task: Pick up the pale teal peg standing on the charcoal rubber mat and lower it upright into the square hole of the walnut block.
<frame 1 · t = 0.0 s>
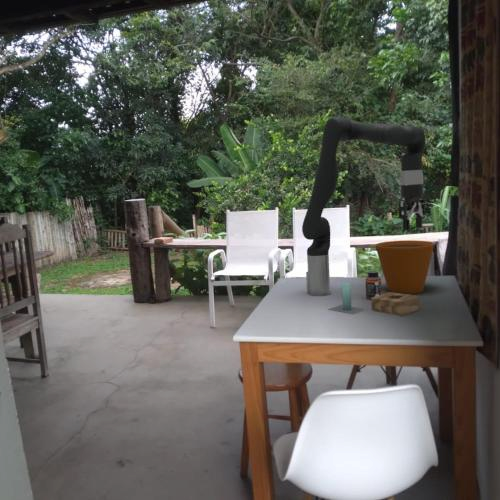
hand: (412, 228, 174), 29 cm above the table, fingers open, 8 cm apart
supplement bottle: (373, 299, 195), on the table
peg: (347, 309, 181), resting on mat
mat: (347, 310, 181), on the table
flower pot: (405, 290, 209), on the table
hole block: (395, 310, 177), on the table
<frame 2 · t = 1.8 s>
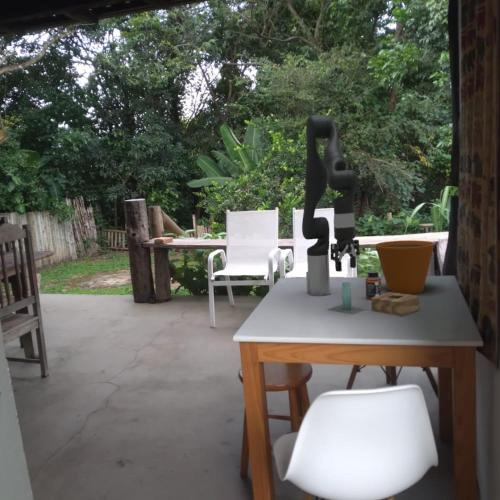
hand: (346, 269, 179), 15 cm above the table, fingers open, 8 cm apart
nothing on the table moved.
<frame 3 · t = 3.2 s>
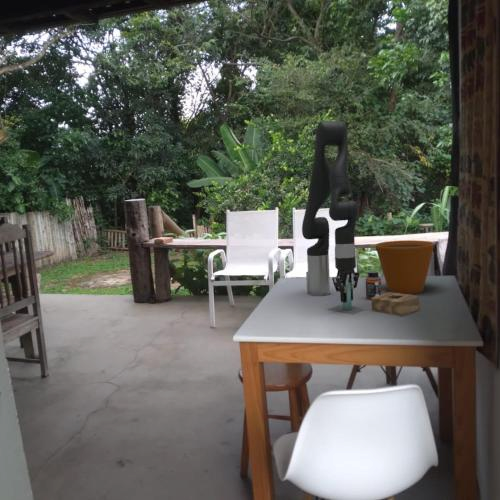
hand: (346, 301, 180), 4 cm above the table, fingers closed on peg, 3 cm apart
peg: (347, 309, 181), resting on mat, touching gripper
everything else where it was.
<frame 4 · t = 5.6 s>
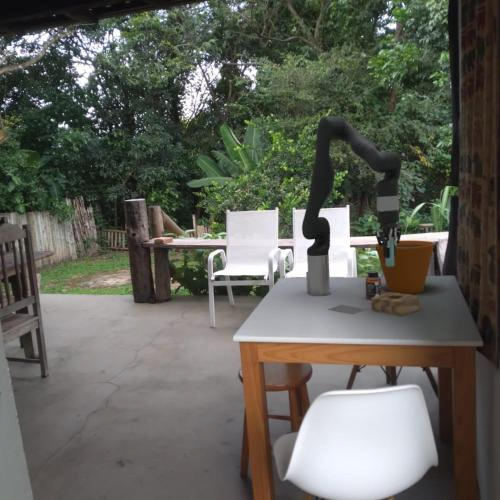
hand: (389, 257, 174), 20 cm above the table, fingers closed on peg, 3 cm apart
peg: (390, 265, 174), point 17 cm above the table, touching gripper
everything else where it was.
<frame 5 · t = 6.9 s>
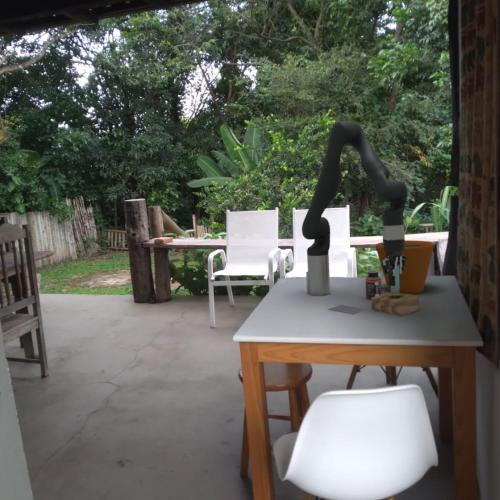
hand: (394, 284, 176), 10 cm above the table, fingers closed on peg, 3 cm apart
peg: (395, 293, 176), point 6 cm above the table, touching gripper
everything else where it was.
when the fingers open (6 cm above the table, at t = 8.0 s): peg drops 3 cm, resting in hole block.
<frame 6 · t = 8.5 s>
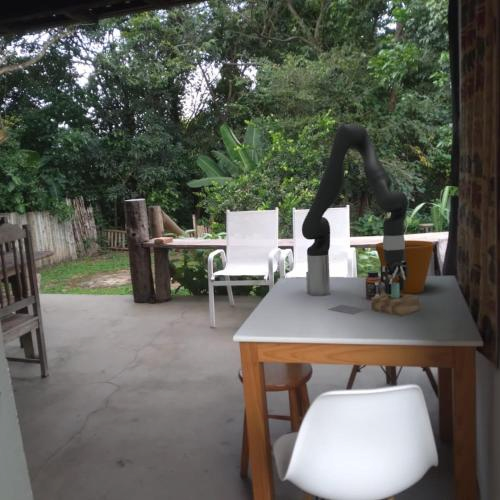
hand: (394, 291, 176), 7 cm above the table, fingers open, 8 cm apart
peg: (395, 310, 177), resting in hole block
everything else where it was.
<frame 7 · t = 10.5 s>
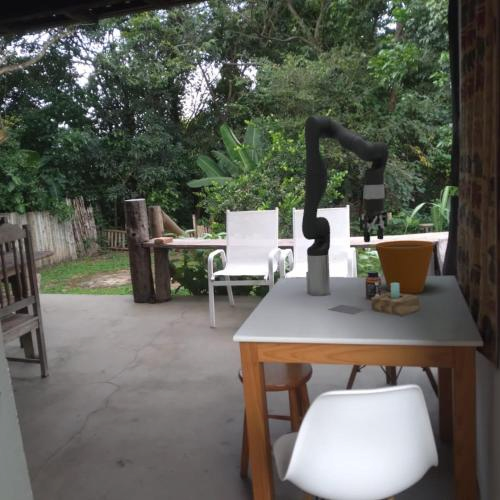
hand: (373, 240, 181), 25 cm above the table, fingers open, 8 cm apart
nothing on the table moved.
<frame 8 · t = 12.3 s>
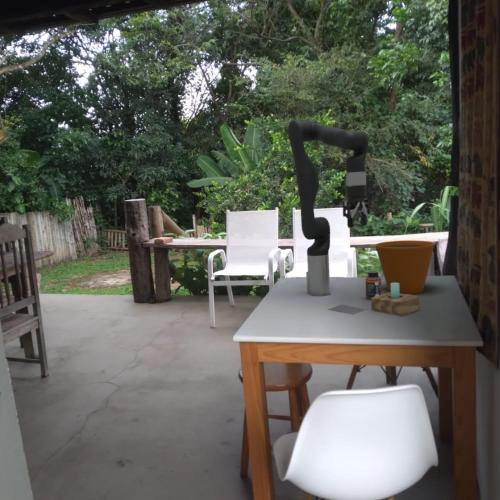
hand: (357, 226, 187), 30 cm above the table, fingers open, 8 cm apart
nothing on the table moved.
at the end: peg 0.1 cm off-centre on the hole block, point 0.0 cm above the hole block's base; peg tilted 0°; the gripper is holding nothing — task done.
